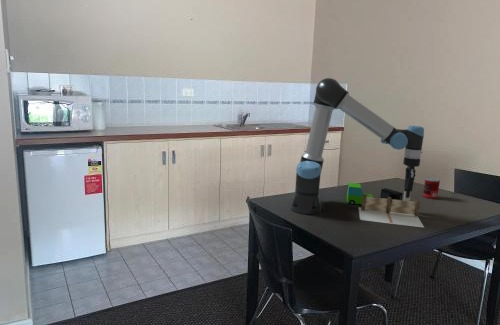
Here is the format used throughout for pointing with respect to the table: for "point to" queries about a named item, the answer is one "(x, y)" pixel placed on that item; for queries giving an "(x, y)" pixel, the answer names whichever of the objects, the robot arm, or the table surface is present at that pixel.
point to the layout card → (390, 217)
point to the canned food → (431, 188)
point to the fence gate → (405, 207)
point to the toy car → (355, 194)
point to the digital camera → (391, 194)
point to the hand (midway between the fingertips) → (406, 203)
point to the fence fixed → (376, 203)
